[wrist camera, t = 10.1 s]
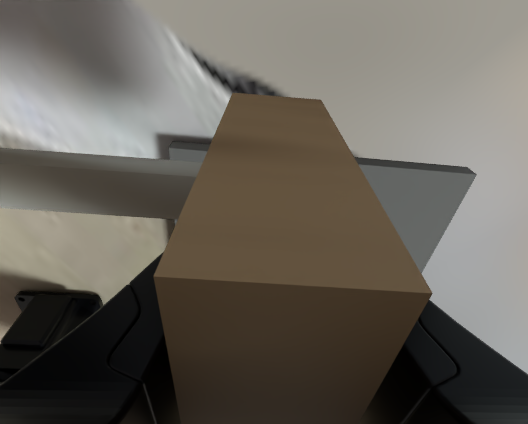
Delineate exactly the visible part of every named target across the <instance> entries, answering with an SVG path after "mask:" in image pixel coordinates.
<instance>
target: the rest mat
mask: <svg viewBox="0 0 528 424" xmlns="http://www.w3.org/2000/svg"><path fill="white" fill-rule="evenodd" d="M209 147H210V144H199V143H188V142H176V141H173V142H172V143H171V145H170V147H169V158H170V160H176V161H190V162H203V161H204V158H205V156H206V154H207V151H208V149H209ZM354 158H355V160H356V161H357V163H358V165H359V167H360V168H361V170H362V172H363V174H364V175H365V177H366V179H367V181H368V182H369V184H370V186H371V188H372V189H373V191H374V193H375V194H376V196H377V198H378V200H379V201H380V203H381V205H382V207H383V208H384V210H385V212H386V214H387V215H388V217H389V219H390V221H391V222H392V224H393V226H394V227H395V229H396V231H397V233H398V234H399V236H400V238H401V240H402V241H403V243H404V245H405V247H406V248H407V250H408V252H409V253H410V255H411V257H412V259H413V260H414V262H415V264H416V266H417V267H418V269H419V271H420V273H422V271H423V269H424V268H425V266H426V264H427V262H428V261H429V259H430V257H431V255H432V254H433V252H434V250H435V248H436V246H437V245H438V243H439V241H440V239H441V238H442V236H443V234H444V232H445V230H446V229H447V227H448V225H449V223H450V221H451V220H452V218H453V216H454V214H455V213H456V211H457V209H458V207H459V205H460V204H461V202H462V200H463V198H464V197H465V195H466V193H467V191H468V189H469V187H470V186H471V184H472V182H473V181H474V179H475V177H476V174H475V173H474V172H473V171H471V170H470V169H469V168H468V167H459V166H448V165H436V164H425V163H414V162H403V161H391V160H380V159H369V158H358V157H354ZM177 221H178V220H176V219H175V225H176V223H177Z"/></svg>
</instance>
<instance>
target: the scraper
mask: <svg viewBox="0 0 528 424" xmlns="http://www.w3.org/2000/svg"><path fill="white" fill-rule="evenodd" d="M0 208H10V209H25V210H41V211H56V212H71V213H86V214H101V215H116V216H131V217H146V218H161V219H176V220H178V221H177V223H176V225H175V228H174V230H173V232H172V235H171V237H170V239H169V242H168V244H167V246H166V249H165V251H164V253H163V255H162V258H161V260H160V262H159V265H158V267H157V269H156V272H155V274H154V276H153V277H154V282H155V287H156V293H157V298H158V303H159V309H160V314H161V319H162V325H163V330H164V335H165V340H166V346H167V351H168V356H169V362H170V367H171V372H172V378H173V383H174V388H175V394H176V399H177V404H178V410H179V415H180V420H181V424H358V423H359V421H360V420H361V418H362V416H363V414H364V413H365V411H366V409H367V407H368V406H369V404H370V402H371V400H372V399H373V397H374V395H375V393H376V392H377V390H378V388H379V386H380V384H381V383H382V381H383V379H384V377H385V376H386V374H387V372H388V370H389V369H390V367H391V365H392V363H393V362H394V360H395V358H396V356H397V355H398V353H399V351H400V349H401V348H402V346H403V344H404V342H405V341H406V339H407V337H408V335H409V334H410V332H411V330H412V328H413V327H414V325H415V323H416V321H417V320H418V318H419V316H420V314H421V313H422V311H423V309H424V307H425V306H426V304H427V302H428V300H429V299H430V297H431V295H432V292H431V290H430V288H429V286H428V285H427V283H426V281H425V280H424V278H423V276H422V274H421V273H420V271H419V269H418V267H417V266H416V264H415V262H414V260H413V259H412V257H411V255H410V253H409V252H408V250H407V248H406V247H405V245H404V243H403V241H402V240H401V238H400V236H399V234H398V233H397V231H396V229H395V227H394V226H393V224H392V222H391V221H390V219H389V217H388V215H387V214H386V212H385V210H384V208H383V207H382V205H381V203H380V201H379V200H378V198H377V196H376V194H375V193H374V191H373V189H372V188H371V186H370V184H369V182H368V181H367V179H366V177H365V175H364V174H363V172H362V170H361V168H360V167H359V165H358V163H357V161H356V160H355V158H354V156H353V155H352V153H351V151H350V149H349V148H348V146H347V144H346V142H345V141H344V139H343V137H342V135H341V134H340V132H339V130H338V128H337V127H336V125H335V123H334V122H333V120H332V118H331V117H330V115H329V113H328V111H327V110H326V108H325V106H324V104H323V102H322V101H321V100H316V99H304V98H291V97H279V96H266V95H253V94H241V93H232V96H231V98H230V100H229V103H228V105H227V107H226V110H225V112H224V114H223V117H222V119H221V121H220V124H219V126H218V128H217V130H216V133H215V135H214V137H213V140H212V142H211V144H210V147H209V149H208V151H207V154H206V156H205V158H204V161H203V162H190V161H176V160H162V159H148V158H134V157H120V156H106V155H93V154H79V153H65V152H51V151H37V150H23V149H9V148H0Z"/></svg>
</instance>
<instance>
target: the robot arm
mask: <svg viewBox="0 0 528 424" xmlns="http://www.w3.org/2000/svg"><path fill="white" fill-rule="evenodd" d="M163 253H164V252H163ZM163 253H162V254H161V255H159V256H158V257H157V258H156V259H155V260H154V261H153V262H152V263H151V264H150V265H148V266H147V267H146V268H145V269H144V270H143V271H142V272H141V273H140V274H139V275H137V276H136V277H135V278H134V279H133V280H132V281H131V282H130V285H126V286H125V287H124V288H123V289H122V290H121V291H120V292H118V293H117V294H116V295H115V296H114V297H113V298H112V299H110V300H109V301H108V302H107V303H106V304H105V305H104V306H103V303H102V300H101V298H100V297H99V296H96V295H84V294H65V293H45V292H26V291H20V292H18V294H17V295H16V296H15V300H16V302H17V304H18V305H19V307H20V309H21V311H22V313H21V314H20V316H19V317H18V318H17V320H16V321H15V322H14V324H13V325H12V326H11V327H10V329H9V330H8V331H7V333H6V334H5V335H4V337H3V338H2V339H1V341H0V342H1V344H0V424H181V420H180V415H179V410H178V404H177V399H176V394H175V388H174V383H173V378H172V372H171V367H170V362H169V356H168V351H167V346H166V340H165V335H164V330H163V325H162V319H161V314H160V309H159V303H158V298H157V293H156V287H155V282H154V277H153V276H154V274H155V272H156V269H157V267H158V265H159V262H160V260H161V258H162V255H163ZM358 424H528V374H527V373H525V372H524V371H522V370H521V369H520V368H518V367H517V366H515V365H514V364H513V363H511V362H510V361H508V360H507V359H506V358H505V357H503V356H502V355H500V354H499V353H498V352H496V351H495V350H494V349H492V348H491V347H489V346H488V345H487V344H485V343H484V342H483V341H481V340H480V339H479V338H477V337H476V336H475V335H473V334H472V333H471V332H469V331H468V330H466V329H465V328H464V327H463V326H461V325H460V324H459V323H457V322H456V321H455V320H454V319H452V318H451V317H450V316H449V315H447V314H446V313H445V312H444V311H443V310H441V309H440V308H439V307H437V306H436V305H435V304H434V303H433V302H432V301H430V300H428V302H427V304H426V306H425V307H424V309H423V311H422V313H421V314H420V316H419V318H418V320H417V321H416V323H415V325H414V327H413V328H412V330H411V332H410V334H409V335H408V337H407V339H406V341H405V342H404V344H403V346H402V348H401V349H400V351H399V353H398V355H397V356H396V358H395V360H394V362H393V363H392V365H391V367H390V369H389V370H388V372H387V374H386V376H385V377H384V379H383V381H382V383H381V384H380V386H379V388H378V390H377V392H376V393H375V395H374V397H373V399H372V400H371V402H370V404H369V406H368V407H367V409H366V411H365V413H364V414H363V416H362V418H361V420H360V421H359V423H358Z"/></svg>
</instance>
